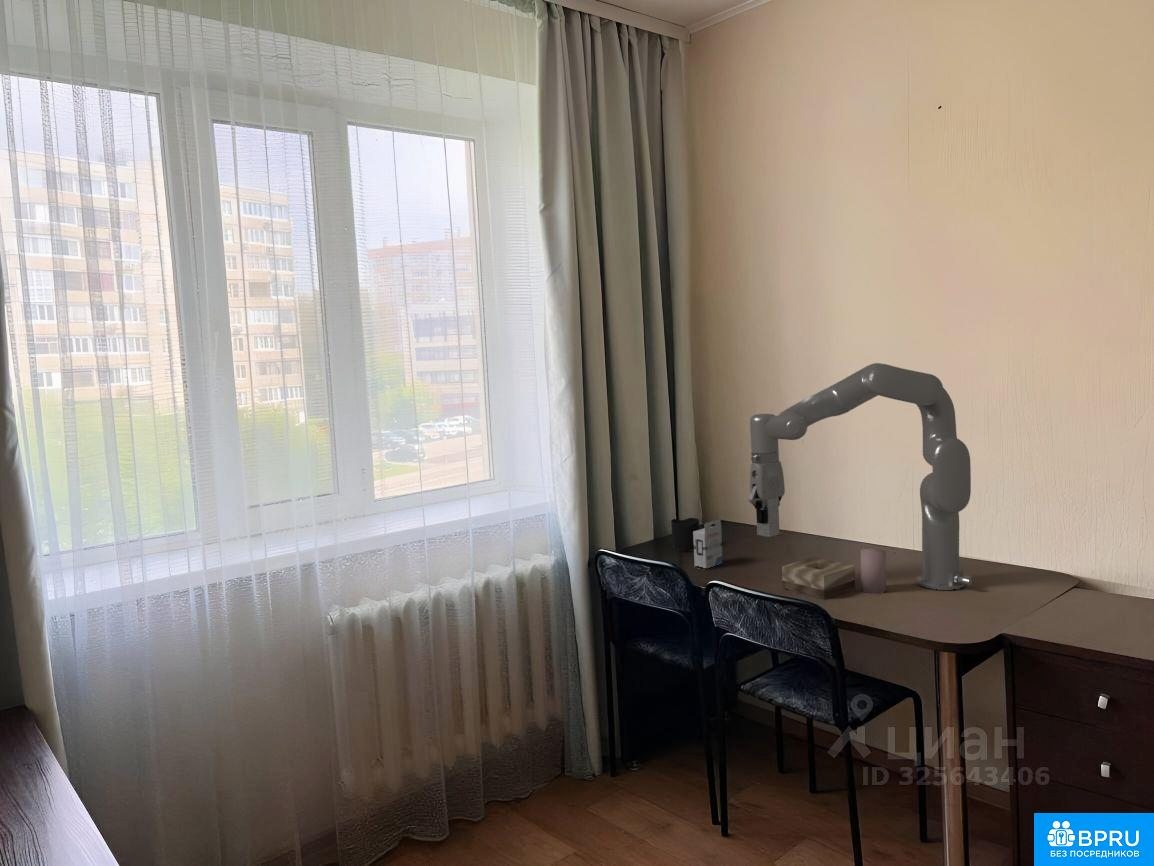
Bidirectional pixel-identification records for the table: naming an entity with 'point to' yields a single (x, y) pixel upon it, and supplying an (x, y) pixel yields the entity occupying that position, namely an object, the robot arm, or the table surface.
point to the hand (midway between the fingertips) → (767, 520)
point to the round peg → (873, 570)
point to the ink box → (708, 545)
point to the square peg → (770, 519)
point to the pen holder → (684, 533)
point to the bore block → (818, 577)
